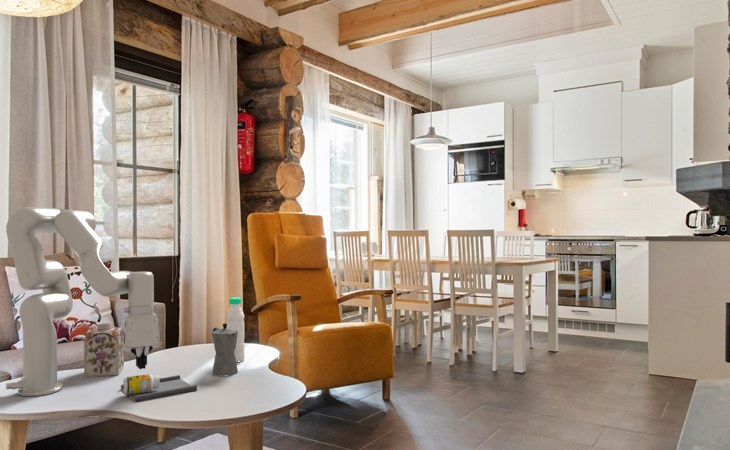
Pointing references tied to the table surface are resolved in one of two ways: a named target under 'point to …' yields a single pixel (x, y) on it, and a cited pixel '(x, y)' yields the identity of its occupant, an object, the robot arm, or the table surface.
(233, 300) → the water bottle
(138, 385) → the supplement bottle
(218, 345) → the coffeepot
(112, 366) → the decorative jar
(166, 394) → the mat
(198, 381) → the table surface
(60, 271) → the robot arm
